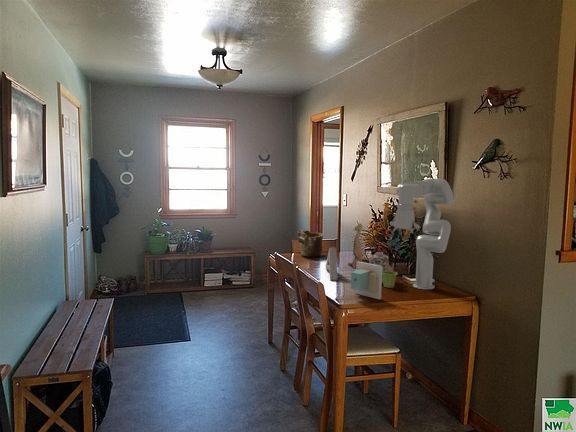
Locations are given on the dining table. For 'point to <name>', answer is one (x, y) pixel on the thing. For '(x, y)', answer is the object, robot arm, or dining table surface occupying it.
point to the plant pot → (389, 278)
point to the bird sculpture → (357, 247)
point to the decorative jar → (380, 261)
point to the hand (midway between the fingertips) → (403, 239)
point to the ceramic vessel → (310, 243)
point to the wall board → (371, 280)
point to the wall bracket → (332, 263)
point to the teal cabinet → (360, 279)
